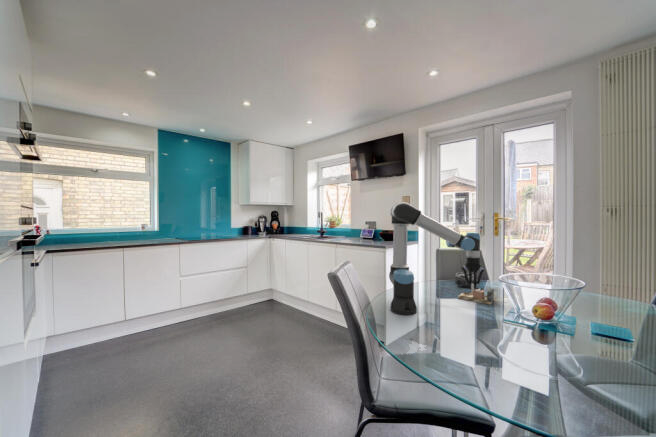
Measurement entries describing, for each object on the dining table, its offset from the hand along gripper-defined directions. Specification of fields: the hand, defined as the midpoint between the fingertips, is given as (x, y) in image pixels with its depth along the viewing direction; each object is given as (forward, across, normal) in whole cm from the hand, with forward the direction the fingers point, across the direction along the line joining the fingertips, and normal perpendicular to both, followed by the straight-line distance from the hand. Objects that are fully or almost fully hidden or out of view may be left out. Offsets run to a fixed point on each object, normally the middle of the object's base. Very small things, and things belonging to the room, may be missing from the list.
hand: (472, 294), depth 167 cm
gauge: (+2, +3, 0) cm, 4 cm away
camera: (+3, -12, +27) cm, 30 cm away
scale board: (+3, +2, 0) cm, 3 cm away
